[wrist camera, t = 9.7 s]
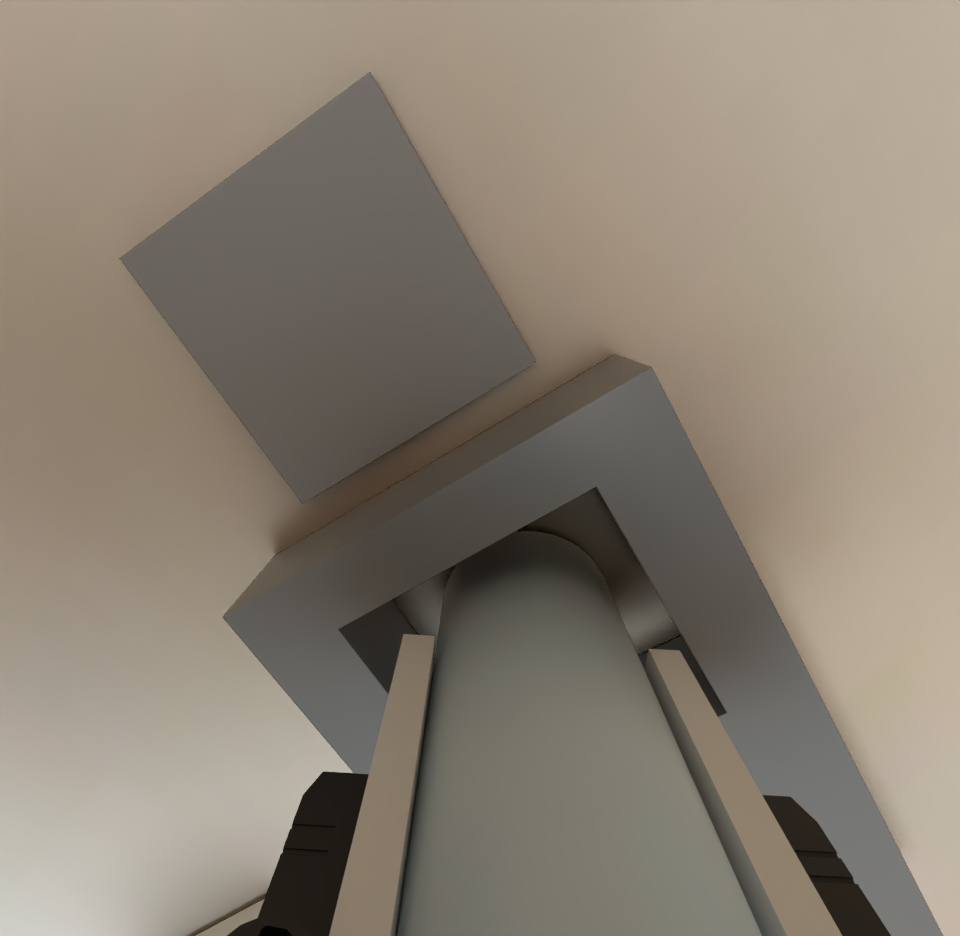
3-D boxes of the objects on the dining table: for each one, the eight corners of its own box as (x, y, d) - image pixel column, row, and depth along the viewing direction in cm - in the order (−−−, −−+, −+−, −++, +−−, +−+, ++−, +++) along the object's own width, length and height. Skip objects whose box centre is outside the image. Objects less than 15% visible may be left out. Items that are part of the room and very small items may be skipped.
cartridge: (439, 673, 17) (229, 2370, 3) (446, 525, 16) (105, 2481, 2) (597, 682, 18) (1114, 2389, 3) (619, 536, 16) (1797, 2527, 2)
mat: (129, 259, 14) (119, 258, 14) (373, 78, 13) (369, 71, 13) (306, 499, 16) (302, 503, 16) (534, 360, 15) (536, 361, 15)
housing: (274, 555, 17) (222, 617, 14) (614, 354, 15) (651, 367, 12) (600, 970, 22) (620, 1089, 19) (881, 860, 20) (960, 970, 17)
